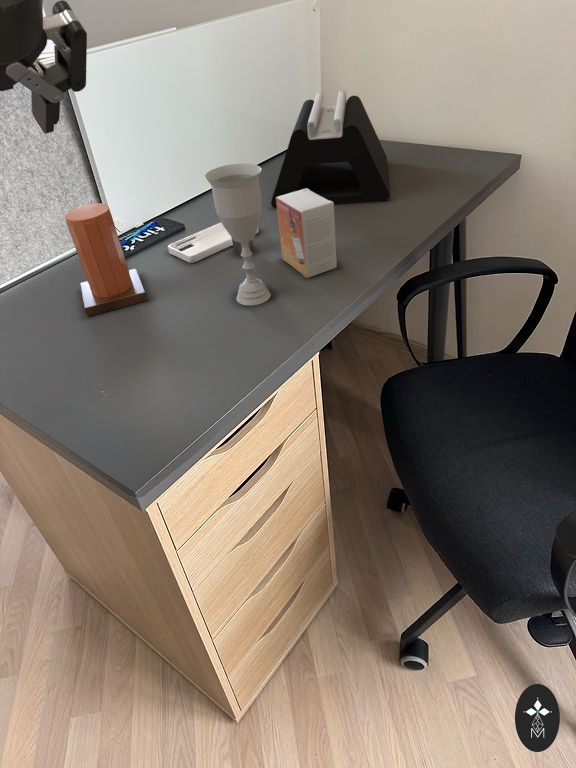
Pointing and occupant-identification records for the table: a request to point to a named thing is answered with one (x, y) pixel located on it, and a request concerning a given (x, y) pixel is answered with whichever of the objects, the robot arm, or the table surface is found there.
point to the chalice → (240, 218)
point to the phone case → (203, 243)
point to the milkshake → (239, 246)
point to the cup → (99, 249)
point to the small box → (307, 232)
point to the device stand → (335, 154)
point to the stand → (113, 297)
